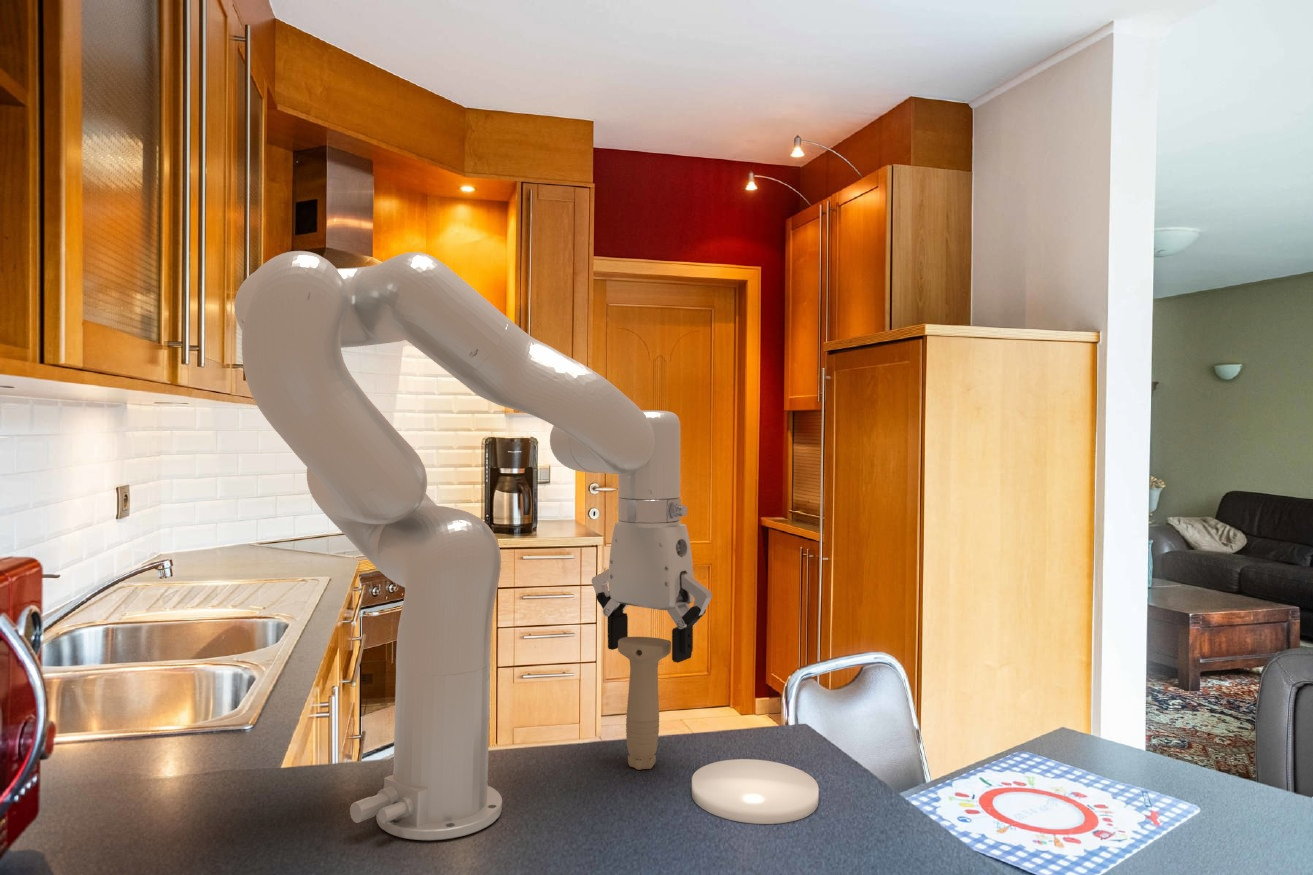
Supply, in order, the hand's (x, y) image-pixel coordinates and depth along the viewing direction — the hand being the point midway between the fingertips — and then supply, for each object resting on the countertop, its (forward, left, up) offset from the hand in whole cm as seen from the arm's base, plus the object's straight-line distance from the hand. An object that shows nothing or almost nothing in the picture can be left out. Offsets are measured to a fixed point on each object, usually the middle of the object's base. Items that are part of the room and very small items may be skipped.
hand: (649, 653), depth 104 cm
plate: (0, -15, -14) cm, 20 cm away
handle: (-1, 0, -14) cm, 14 cm away
